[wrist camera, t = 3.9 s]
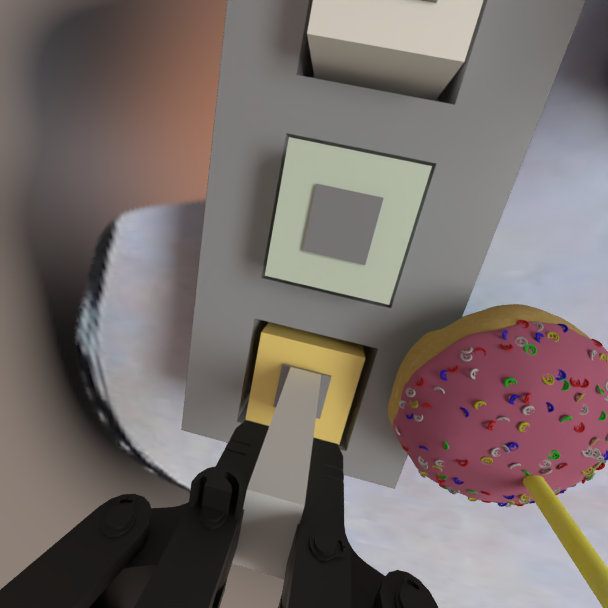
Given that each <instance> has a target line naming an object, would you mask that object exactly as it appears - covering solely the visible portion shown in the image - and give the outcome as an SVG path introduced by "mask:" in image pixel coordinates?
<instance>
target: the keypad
mask: <svg viewBox="0 0 608 608" xmlns="http://www.w3.org/2000/svg"><path fill="white" fill-rule="evenodd" d="M585 1H586V0H483V4H482V7H481V10H480V13H479V17H478V20H477V23H476V26H475V29H474V33H473V36H472V39H471V42H470V46H469V49H468V52H467V55H466V58H465V62H464V63H463V64H462V66H461V67H460V68H459V70H458V71H457V73H456V74H455V75H454V77H453V78H452V79H451V81H450V82H449V83H448V85H447V86H446V87H445V89H444V90H443V91H442V93H441V94H440V95H439V97H438V98H437V99H436V101H433V100H427V99H422V98H417V97H411V96H406V95H401V94H396V93H390V92H385V91H380V90H374V89H369V88H364V87H359V86H353V85H348V84H343V83H337V82H332V81H327V80H322V79H316V78H315V77H314V71H313V65H312V59H311V54H310V48H309V42H308V36H307V31H308V25H309V20H310V14H311V8H312V2H313V0H227V8H226V17H225V27H224V36H223V45H222V55H221V64H220V74H219V83H218V92H217V102H216V111H215V120H214V129H213V140H212V149H211V158H210V167H209V176H208V186H207V195H206V204H205V214H204V223H203V232H202V242H201V251H200V260H199V270H198V279H197V288H196V298H195V307H194V316H193V326H192V335H191V344H190V354H189V363H188V373H187V382H186V391H185V401H184V410H183V419H182V429H181V430H184V431H187V432H191V433H194V434H198V435H202V436H205V437H209V438H213V439H216V440H220V441H223V442H227V443H228V442H229V441H230V438H231V436H232V434H233V433H234V431H235V429H236V428H237V427H238V426H239V425H240V424H242V423H243V422H244V421H246V414H247V408H248V403H249V397H250V392H251V386H252V381H253V375H254V370H255V364H256V359H257V353H258V348H259V342H260V337H261V332H262V331H263V329H264V328H265V327H266V325H267V324H268V323H269V322H272V323H276V324H280V325H284V326H288V327H292V328H296V329H300V330H304V331H308V332H312V333H316V334H320V335H324V336H328V337H333V338H337V339H341V340H345V341H349V342H353V343H357V344H361V345H363V348H364V353H365V361H364V364H363V368H362V371H361V374H360V378H359V381H358V384H357V388H356V391H355V394H354V398H353V401H352V404H351V407H350V411H349V414H348V417H347V421H346V424H345V427H344V431H343V434H342V437H341V441H340V444H339V445H338V446H339V448H340V450H341V452H342V455H343V473H344V475H347V476H350V477H354V478H358V479H361V480H365V481H368V482H372V483H376V484H379V485H383V486H387V487H390V488H394V489H395V487H396V484H397V481H398V479H399V476H400V474H401V471H402V469H403V466H404V463H405V461H406V458H407V456H408V454H407V452H406V451H405V450H404V449H403V447H402V445H401V444H400V442H399V440H398V439H397V437H396V435H395V433H394V431H393V426H392V424H391V422H390V419H389V416H388V404H389V400H390V396H391V392H392V388H393V385H394V382H395V379H396V376H397V372H398V370H399V367H400V365H401V363H402V361H403V360H404V358H405V356H406V355H407V353H408V351H409V350H410V349H411V348H412V346H413V345H414V344H415V343H416V342H417V341H418V340H419V339H420V338H421V337H422V336H424V335H425V334H427V333H429V332H431V331H435V330H439V329H442V328H445V327H447V326H449V325H450V324H452V323H454V322H455V321H457V320H458V319H460V318H462V315H463V313H464V310H465V308H466V305H467V302H468V300H469V297H470V295H471V292H472V290H473V287H474V285H475V282H476V279H477V277H478V274H479V272H480V269H481V267H482V264H483V262H484V259H485V256H486V254H487V251H488V249H489V246H490V244H491V241H492V239H493V236H494V233H495V231H496V228H497V226H498V223H499V221H500V218H501V216H502V213H503V210H504V208H505V205H506V203H507V200H508V198H509V195H510V193H511V190H512V187H513V185H514V182H515V180H516V177H517V175H518V172H519V170H520V167H521V164H522V162H523V159H524V157H525V154H526V152H527V149H528V147H529V144H530V141H531V139H532V136H533V134H534V131H535V129H536V126H537V124H538V121H539V118H540V116H541V113H542V111H543V108H544V106H545V103H546V101H547V98H548V95H549V93H550V90H551V88H552V85H553V83H554V80H555V78H556V75H557V72H558V70H559V67H560V65H561V62H562V60H563V57H564V55H565V52H566V49H567V47H568V44H569V42H570V39H571V37H572V34H573V32H574V29H575V26H576V24H577V21H578V19H579V16H580V14H581V11H582V9H583V6H584V3H585ZM289 137H291V138H296V139H301V140H306V141H311V142H315V143H320V144H325V145H330V146H335V147H340V148H345V149H350V150H355V151H360V152H365V153H370V154H374V155H379V156H384V157H389V158H394V159H399V160H404V161H409V162H414V163H419V164H424V165H429V166H432V168H431V171H430V174H429V178H428V181H427V184H426V187H425V191H424V194H423V197H422V200H421V204H420V207H419V210H418V213H417V216H416V220H415V223H414V226H413V229H412V233H411V236H410V239H409V242H408V245H407V249H406V252H405V255H404V258H403V262H402V265H401V268H400V271H399V274H398V278H397V281H396V284H395V287H394V291H393V294H392V297H391V300H390V303H389V305H388V304H383V303H379V302H375V301H371V300H367V299H362V298H358V297H354V296H350V295H345V294H341V293H337V292H333V291H328V290H324V289H320V288H316V287H311V286H307V285H303V284H299V283H294V282H290V281H286V280H282V279H277V278H273V277H269V276H265V271H266V266H267V260H268V254H269V248H270V243H271V237H272V231H273V226H274V220H275V214H276V208H277V203H278V197H279V191H280V186H281V180H282V174H283V168H284V163H285V157H286V151H287V145H288V140H289ZM247 421H249V420H247ZM251 422H253V421H251ZM254 423H257V422H254ZM258 424H261V423H258ZM262 425H264V424H262ZM265 426H268V425H265Z"/></svg>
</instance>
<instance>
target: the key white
mask: <svg viewBox="0 0 608 608" xmlns="http://www.w3.org/2000/svg"><path fill="white" fill-rule="evenodd" d="M482 4H483V0H313V2H312V8H311V14H310V20H309V25H308V31H307V36H308V42H309V48H310V54H311V59H312V65H313V71H314V77H315V78H316V79H322V80H327V81H332V82H337V83H343V84H348V85H353V86H359V87H364V88H369V89H374V90H380V91H385V92H390V93H396V94H401V95H406V96H411V97H417V98H422V99H427V100H433V101H436V99H437V98H438V97H439V95H440V94H441V93H442V91H443V90H444V89H445V87H446V86H447V85H448V83H449V82H450V81H451V79H452V78H453V77H454V75H455V74H456V73H457V71H458V70H459V68H460V67H461V66H462V64H463V63H464V62H465V58H466V55H467V52H468V49H469V46H470V42H471V39H472V36H473V33H474V29H475V26H476V23H477V20H478V17H479V13H480V10H481V7H482Z"/></svg>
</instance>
